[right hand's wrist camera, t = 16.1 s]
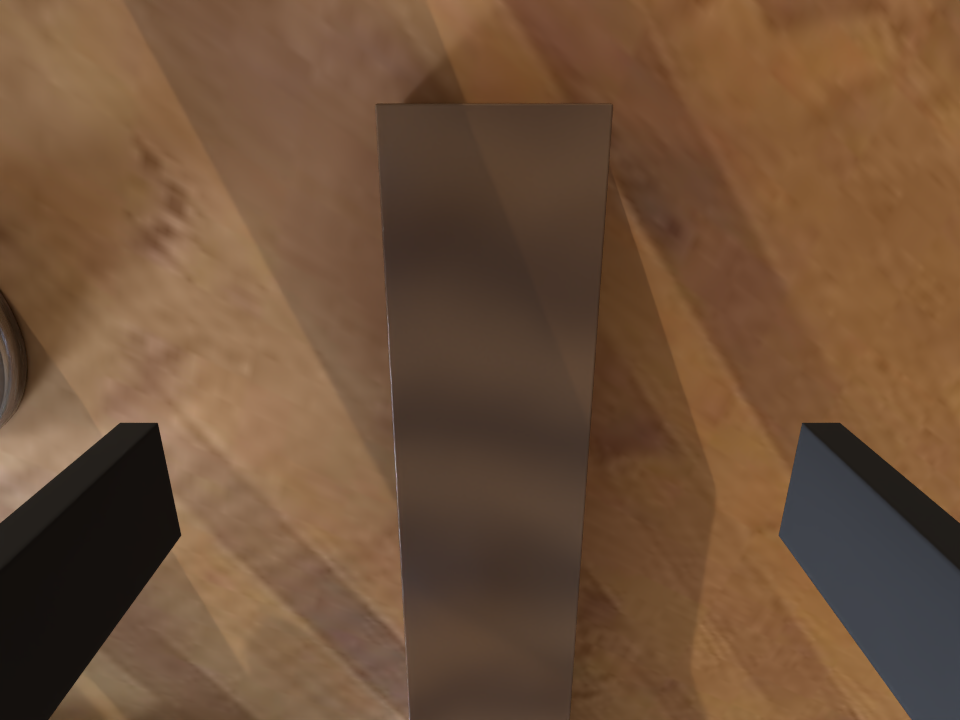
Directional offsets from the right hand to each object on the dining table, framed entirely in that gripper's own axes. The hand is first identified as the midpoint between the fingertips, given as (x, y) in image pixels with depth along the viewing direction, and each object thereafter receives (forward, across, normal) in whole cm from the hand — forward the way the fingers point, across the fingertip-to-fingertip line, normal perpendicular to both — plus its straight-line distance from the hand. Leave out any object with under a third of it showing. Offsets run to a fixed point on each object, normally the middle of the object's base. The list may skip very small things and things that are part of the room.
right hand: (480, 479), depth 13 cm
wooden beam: (+24, +1, -27) cm, 36 cm away
